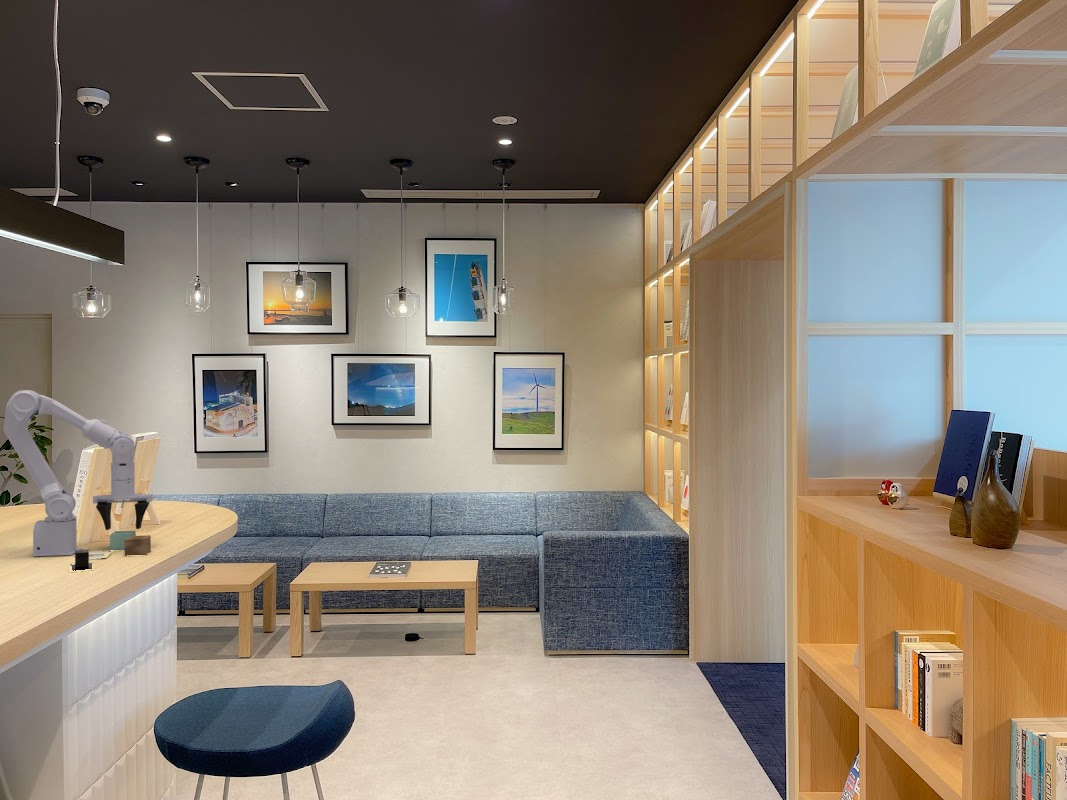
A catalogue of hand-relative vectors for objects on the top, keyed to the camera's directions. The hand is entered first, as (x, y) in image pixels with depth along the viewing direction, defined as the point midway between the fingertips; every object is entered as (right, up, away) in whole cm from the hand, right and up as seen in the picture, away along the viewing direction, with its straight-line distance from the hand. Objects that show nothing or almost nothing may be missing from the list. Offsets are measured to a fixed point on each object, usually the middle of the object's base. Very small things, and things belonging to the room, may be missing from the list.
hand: (123, 528), depth 214 cm
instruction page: (-2, -5, -10) cm, 11 cm away
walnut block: (+7, -6, -7) cm, 11 cm away
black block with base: (+2, -6, -22) cm, 23 cm away
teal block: (0, -6, 0) cm, 6 cm away
